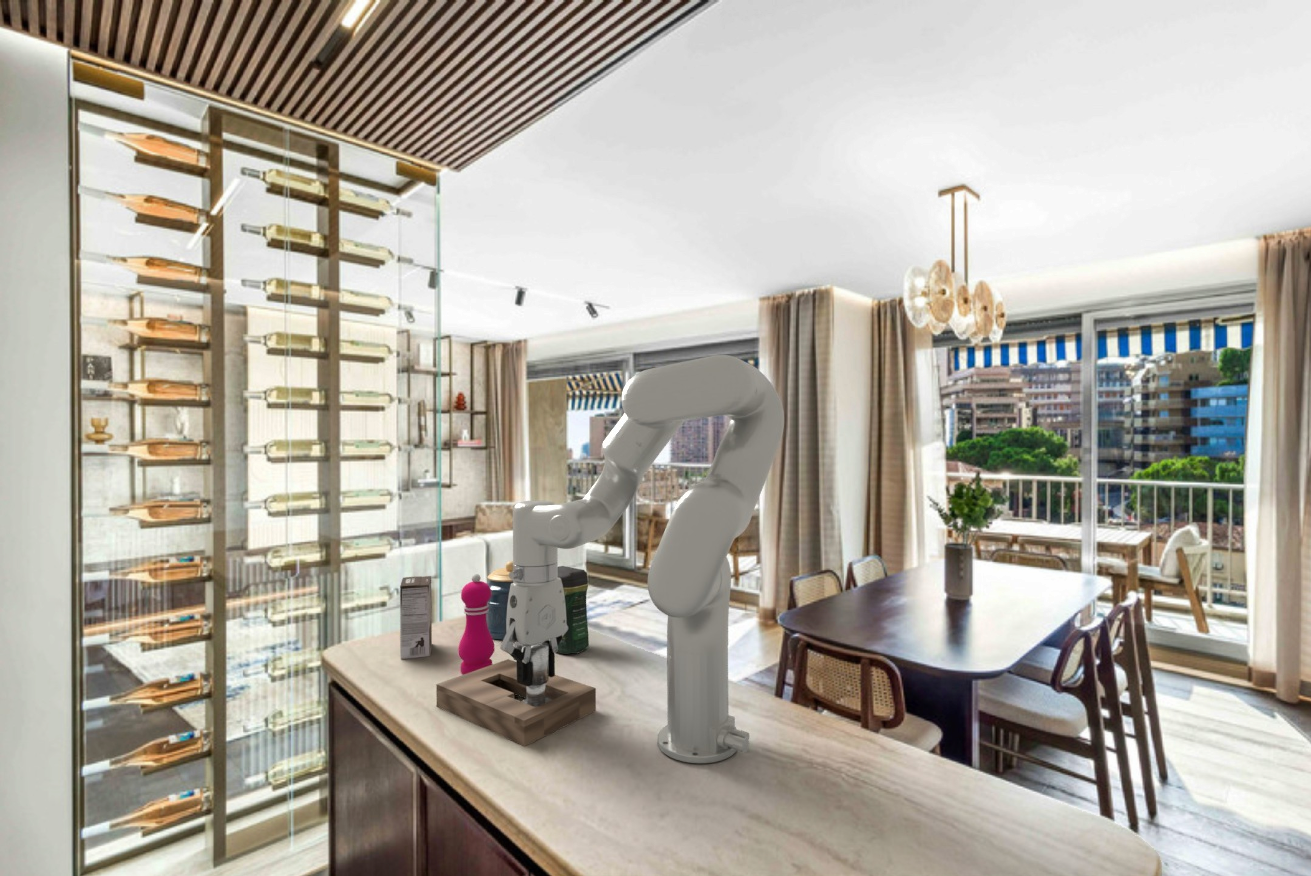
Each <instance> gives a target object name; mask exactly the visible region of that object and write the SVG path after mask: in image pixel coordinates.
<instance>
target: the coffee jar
mask: <svg viewBox="0 0 1311 876" xmlns="http://www.w3.org/2000/svg"><path fill="white" fill-rule="evenodd" d="M558 578H561V581H562V585H563V590H564V596H565V606H566V624H567V626H568V630H567V632H566V633H565V634H564V636H563V637H562V639H561V641H560V643H559V645H558V651H557V652H556V653H558V654H559V653H560V654H564V655H569V654H579V653H582V652H583V651H585V650H586V649H588V648H589V646H590V645H589V642H590V640H589V638H590V637H589V628H588V625H589V624H588V610H587V609H588V608H587V593H588V589H589V579H588V572H587V571H586V570H585V569H580V568H575V567H570V566H565V565H561V566H558Z"/></svg>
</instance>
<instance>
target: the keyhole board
mask: <svg viewBox="0 0 1311 876" xmlns="http://www.w3.org/2000/svg"><path fill="white" fill-rule="evenodd" d="M435 685H436V689H435V690H436V692H435V693H436V707H437V708H439V709H441V710H444V711H446V712H448V713H450V714H451V715H454V716H456V717H459V718H461V719H464V720H466V721H468V722H470V723H472V724H474V725H477V726H478V727H481V728H483V729H485V730H488V731H490V732H492V733H494V734H495V735H498V736H501V737H503V738H505V739H507V740H509V741H512V742H514V743H515V744H517V745H520V746H523V747H526V746H527V745H531V744H532V743H535V742H537V741H538V740H541V739H542V738H544V737H546V736H548V735H550V734H552V733H554V732H557V731H558V730H560V729H562V728H564V727H567V726H568V725H570V724H572V723H575V722H576V721H578V720H580V719H582V718H585V717H587V716H588V715H590V714H592V713H595V712H597V701H596V700H597V697H596V696H597V695H596V694H597V692H596V691H597V688H596V687H593V686H590V685H587V684H586V683H581V682H578V681H575V680H572V679H569V678H566V677H563V676H560V675H557V674H555V676H553V677H549V681H548V682H547V683H545V697H546V698H550V699H552V700H551V701H549V702H547V703H544V704H542V705H540V706H538V707H533V706H531V705H528V704H526V703H523V702H521V701H522V700H521V701H520V700H518V699H515V694H516V696H518V695H520V696H521V698H523V697H525V698H524V699H526V686H525V685H522V684H519V683H518V682H517V661H516V660H512V659H509V658H507V659H504V660H502V661H499V662H496V663H492V665H490V666H487V667H484V668H481V669H479V670H476V671H473V672H470V673H467V674H464V675H463V674H461V675H459V676H456V677H452V678H449V679H447V680H444V681H442V682H438V683H436V684H435ZM520 696H519V697H520Z"/></svg>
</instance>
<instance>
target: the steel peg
mask: <svg viewBox="0 0 1311 876" xmlns="http://www.w3.org/2000/svg"><path fill="white" fill-rule="evenodd" d="M523 649H524V647H523V646H522V650H523ZM529 662H532V685H531V686H529V687H528V686H526V698H524V699H523V700H521V702H523V703H526V704H528V705H531V706H533V707H538V706H540V705H542V704H544V703H547V702H549V701H551V700H552V699H550V698H546V697H545V683H547V682H548V681H549V644H548V643H546V642H542V643H539V644H536V645H533V646H531V652H530V658H529Z"/></svg>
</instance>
